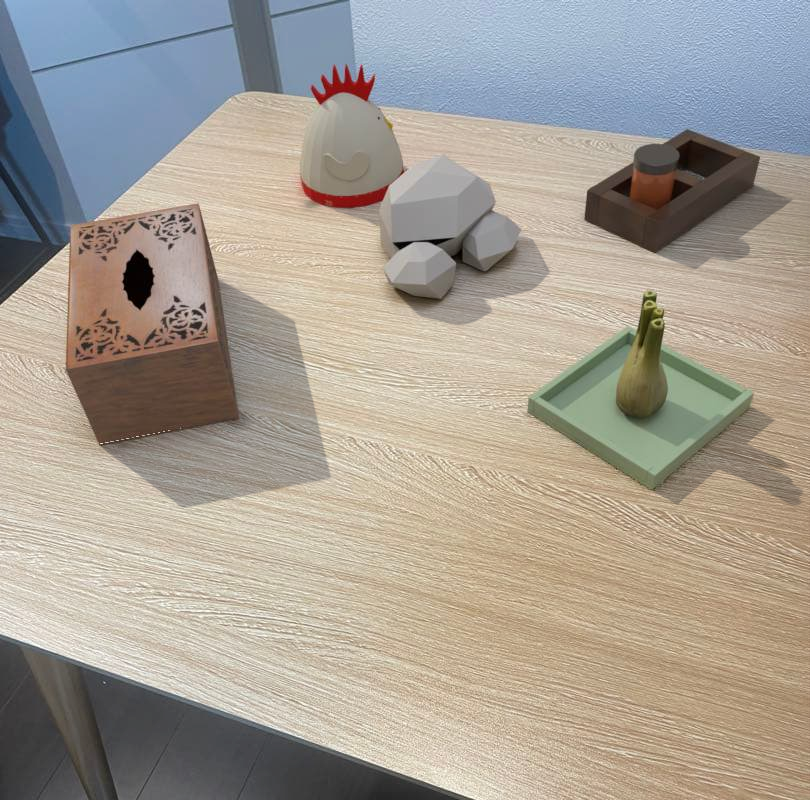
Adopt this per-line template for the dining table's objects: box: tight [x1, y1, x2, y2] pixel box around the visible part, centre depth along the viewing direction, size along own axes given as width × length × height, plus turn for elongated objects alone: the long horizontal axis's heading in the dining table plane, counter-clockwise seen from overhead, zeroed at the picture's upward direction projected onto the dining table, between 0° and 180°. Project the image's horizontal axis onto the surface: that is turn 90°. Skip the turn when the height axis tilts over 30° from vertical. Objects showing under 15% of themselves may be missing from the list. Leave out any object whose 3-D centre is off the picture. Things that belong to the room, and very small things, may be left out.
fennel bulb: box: [616, 289, 668, 417], centre depth 87 cm, size 6×5×12 cm
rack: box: [583, 128, 761, 254], centre depth 114 cm, size 11×20×4 cm, turn 133°
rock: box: [378, 153, 522, 300], centre depth 108 cm, size 18×20×10 cm
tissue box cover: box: [65, 202, 240, 446], centre depth 99 cm, size 26×14×10 cm, turn 12°
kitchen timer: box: [299, 63, 405, 209], centre depth 118 cm, size 14×14×15 cm
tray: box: [527, 325, 755, 491], centre depth 91 cm, size 16×16×2 cm
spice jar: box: [629, 143, 680, 210], centre depth 111 cm, size 5×5×8 cm
